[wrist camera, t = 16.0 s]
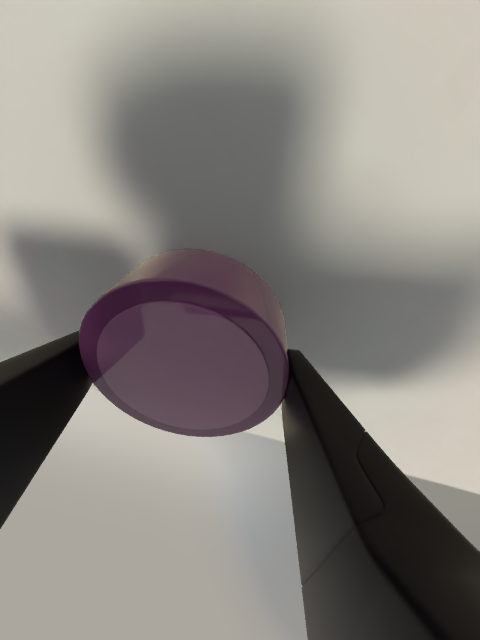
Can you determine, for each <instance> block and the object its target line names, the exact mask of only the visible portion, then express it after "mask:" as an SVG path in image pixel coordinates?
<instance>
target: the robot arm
mask: <svg viewBox="0 0 480 640" xmlns="http://www.w3.org/2000/svg"><path fill="white" fill-rule="evenodd" d="M78 343H79V331H77V332H75V333H72V334H70V335H67V336H65V337H62V338H60V339H57V340H55V341H52V342H50V343H47V344H45V345H42V346H40V347H37V348H35V349H32V350H30V351H27V352H25V353H22V354H20V355H17V356H15V357H12V358H10V359H8V360H5V361H3V362H0V529H1V527H2V525H3V524H4V522H5V521H6V519H7V518H8V516H9V515H10V513H11V511H12V510H13V508H14V507H15V505H16V504H17V502H18V500H19V499H20V497H21V496H22V494H23V493H24V491H25V489H26V488H27V486H28V485H29V483H30V482H31V480H32V478H33V477H34V475H35V474H36V472H37V471H38V469H39V467H40V466H41V464H42V463H43V461H44V460H45V458H46V456H47V455H48V453H49V452H50V450H51V449H52V447H53V445H54V444H55V442H56V441H57V439H58V438H59V436H60V434H61V433H62V431H63V430H64V428H65V427H66V425H67V423H68V422H69V420H70V419H71V417H72V416H73V414H74V412H75V411H76V409H77V408H78V406H79V405H80V403H81V401H82V400H83V398H84V397H85V395H86V393H87V392H88V390H89V388H90V387H91V385H92V383H93V382H92V380H91V379H90V377H89V375H88V374H87V372H86V370H85V367H84V365H83V362H82V359H81V356H80V352H79V344H78ZM288 356H289V365H290V378H289V383H288V387H287V391H286V394H285V397H284V399H283V400H282V419H283V428H284V437H285V445H286V454H287V463H288V472H289V480H290V488H291V498H292V506H293V515H294V523H295V532H296V541H297V549H298V558H299V567H300V575H301V584H302V586H303V587H302V593H303V602H304V610H305V620H306V628H307V636H308V640H480V552H479V551H478V550H477V549H476V548H475V547H474V546H473V545H472V544H471V543H470V542H469V541H468V540H467V539H466V538H465V537H464V536H463V535H462V534H461V533H460V532H459V531H458V530H457V529H456V528H455V527H454V526H453V524H451V522H449V520H448V519H447V518H446V517H445V516H444V515H443V514H442V513H441V512H440V511H439V510H438V509H437V508H436V507H435V506H434V505H433V504H432V503H431V502H430V501H429V500H428V499H427V498H426V497H425V496H424V495H423V493H422V492H421V491H420V490H419V489H418V488H417V487H416V486H415V485H414V484H413V483H412V482H411V481H410V480H409V479H408V478H407V477H406V476H405V475H404V474H403V472H402V471H401V470H400V469H399V468H398V467H397V466H396V465H395V464H394V463H393V462H392V461H391V459H390V458H389V457H388V456H387V455H386V454H385V452H384V451H383V450H382V449H381V448H380V447H379V446H378V444H377V443H376V442H375V441H374V440H373V438H372V437H371V436H370V435H369V434H368V432H365V429H364V428H363V427H362V425H361V424H360V423H359V422H358V421H357V419H356V418H355V417H354V416H353V414H352V413H351V412H350V411H349V410H348V408H347V407H346V406H345V405H344V404H343V402H342V401H341V400H340V399H339V398H338V396H337V395H336V394H335V393H334V392H333V390H332V389H331V388H330V387H329V386H328V384H327V383H326V382H325V381H324V380H323V378H322V377H321V376H320V375H319V374H318V372H317V371H316V370H315V369H314V367H313V366H312V365H311V364H310V363H309V361H308V360H307V359H306V358H305V357H304V355H303V354H302V353H301V352H300V351H299V350H292V349H288Z"/></svg>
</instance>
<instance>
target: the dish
mask: <svg viewBox="0 0 480 640" xmlns="http://www.w3.org/2000/svg"><path fill="white" fill-rule="evenodd" d="M78 344H79V352H80V356H81V359H82V362H83V365H84V367H85V370H86V372H87V374H88V375H89V377H90V379H91V380H92V382H93V383H94V384H95V386H96V387H97V388H98V389H99V391H100V392H101V393H102V394H103V395H104V396H105V397H106V398H107V399H108V400H109V401H111V402H112V403H113V404H114V405H115V406H116V407H118V408H119V409H121V410H122V411H124V412H125V413H127V414H129V415H130V416H132V417H133V418H135V419H137V420H139V421H141V422H143V423H145V424H148V425H150V426H153V427H155V428H158V429H161V430H165V431H168V432H172V433H176V434H181V435H187V436H197V437H213V436H224V435H230V434H234V433H238V432H242V431H245V430H247V429H250V428H252V427H254V426H256V425H258V424H260V423H261V422H263V421H264V420H266V419H267V418H268V417H269V416H270V415H272V414H273V413H274V412H275V410H276V409H277V408H278V407H279V406H280V404H281V402H282V400H283V399H284V397H285V394H286V391H287V387H288V383H289V378H290V365H289V356H288V347H287V338H286V329H285V321H284V316H283V312H282V309H281V307H280V304H279V302H278V300H277V298H276V296H275V294H274V293H273V292H272V290H271V289H270V288H269V286H268V285H267V284H266V283H265V282H264V281H263V280H262V279H261V278H260V276H259V275H257V274H256V273H255V272H253V271H252V270H251V269H250V268H248V267H247V266H245V265H243V264H242V263H240V262H238V261H236V260H234V259H232V258H230V257H227V256H225V255H222V254H219V253H215V252H212V251H206V250H200V249H179V250H172V251H167V252H163V253H160V254H158V255H155V256H153V257H150V258H149V259H147V260H145V261H144V262H142V263H141V264H139V265H138V266H137V267H136V268H135V269H133V270H132V271H131V272H130V273H128V274H127V275H126V276H125V277H123V278H122V279H121V280H120V281H118V282H117V283H116V284H115V285H114V286H112V287H111V288H110V289H109V290H107V291H106V292H105V293H104V294H103V295H101V296H100V297H99V298H98V299H97V300H96V301H95V302H94V303H93V304H92V305H91V307H90V308H89V309H88V310H87V312H86V314H85V316H84V318H83V320H82V323H81V327H80V331H79V343H78Z"/></svg>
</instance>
